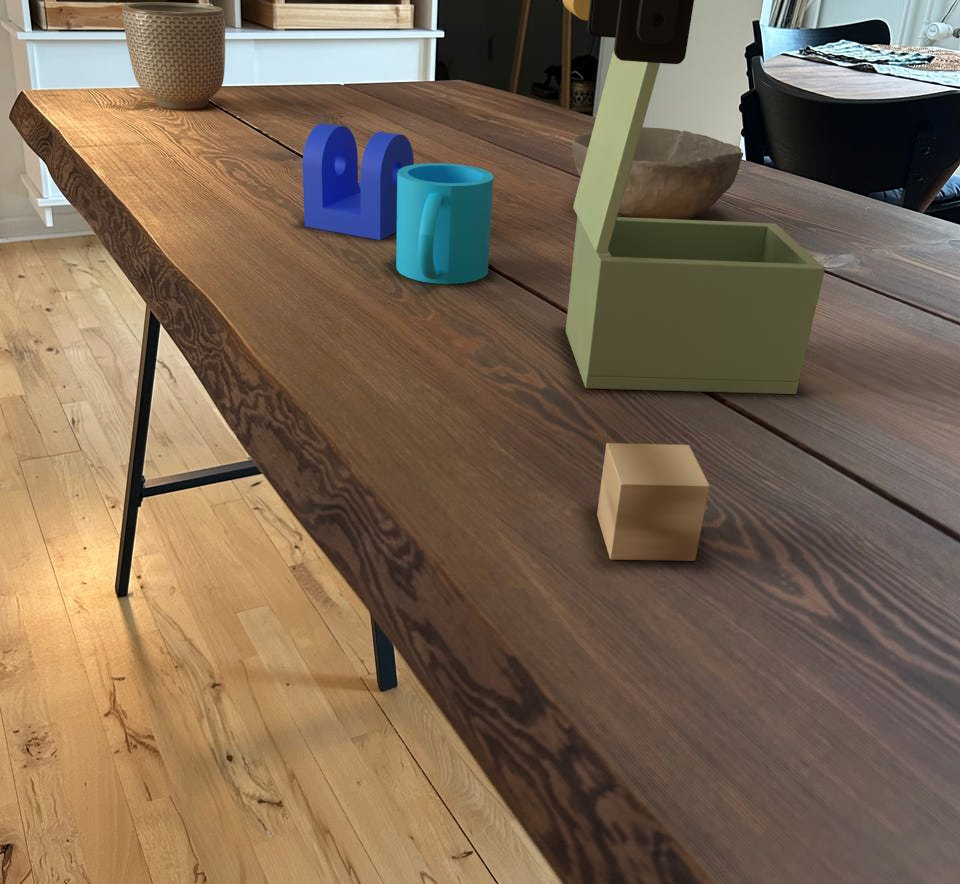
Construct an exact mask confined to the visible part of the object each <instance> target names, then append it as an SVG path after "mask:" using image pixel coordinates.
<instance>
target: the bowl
mask: <svg viewBox="0 0 960 884" xmlns="http://www.w3.org/2000/svg"><path fill="white" fill-rule="evenodd" d="M592 132H593V131H588V132H584V133H581V134H579V135H575V137H573V138H572V140H571V151H572V156H573V162H574V164H575V168H576V170H577V173H578V175H579V176H580V177H581V174H582V171H583V167H584V163H585V159H586V155H587V151H588V147H589V143H590V139H591V136H592ZM743 157H744V152H743V151H742V148H741V147H740V146H738V145H734V144H731V143H728V142H723V141H721V140H719V139H716V138H713V137H710V136H708V135H704V134H700V133H693V132H691V131H687V130H682V131H681V130H678V129H673V128H671V129H670V128H661V127H647V126H645V127H644V126H642V130H641V134H640V137H639V141H638V144H637V148H636V151H635V155H634V159H633V162H632V166H631V169H630V173H629V176H628V180H627V184H626V187H625V191H624V194H623V198H622V201H621V205H620V209H619V212H618V215H621V216H623V217H627V218H652V219H677V220H693V218H696V217H698V216H700V215H701V214H704V213H705V212H706V211H708V210H709V209H710V208H711V207H712V206H714V205H715V203H717V202H718V201H719V199H720V198H721V197H722V196H723V195H724V194H725V193H726V192H727V191H728V190H729V189H730V188H731V187H732V186H733V185H734V183H735V180H736V178H737V175H738V172H739V170H740V166H741V162H742V159H743Z"/></svg>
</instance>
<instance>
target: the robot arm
mask: <svg viewBox="0 0 960 884" xmlns="http://www.w3.org/2000/svg"><path fill="white" fill-rule="evenodd" d="M694 3H695V0H590V8H589V17H588V20H587V32H588V34H589V35H591V36H592V37H596V38H611V39H612V38H613V39H614V46H613V50H614V54H615V56H616V57H617V58H618V59H620V60H622V61H635V62H649V63H660V64H665V65H680V64H681V63H682V62H684V60H685V59H686V56H687V55H686V54H687V49H688V43H689V37H690V29H691V23H692V18H693V17H692V16H693V10H694Z"/></svg>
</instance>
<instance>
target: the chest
mask: <svg viewBox="0 0 960 884" xmlns="http://www.w3.org/2000/svg"><path fill="white" fill-rule="evenodd" d="M576 217H577V218H576V226H575V227H576V228H575V237H574V246H573V256H572V263H571V264H572V266H571V275H570V284H569V295H568V303H567V315H566V321H565V322H566V324H565V333H566V336H567V339H568V342H569V345H570V348H571V351H572V354H573V356H574V359H575V362H576V365H577V368H578V370H579V374H580V377H581V380H582V382H583V385H584V388H585V389H591V390H593V389H598V390H599V389H600V390H628V391H629V390H632V391H633V390H634V391H665V392H666V391H667V392H669V391H670V392H700V393H701V392H703V393H704V392H705V393H738V394H739V393H741V394H773V395H775V394H778V395H780V394H781V395H797V392H798V388H799V383H800V378H801V374H802V369H803V365H804V361H805V358H806V357H805V356H806V352H807V348H808V343H809V339H810V335H811V330H812V327H813V322H814V318H815V313H816V311H817V310H816V309H817V305H818V301H819V296H820V291H821V287H822V285H823V284H822V283H823V279H824V275H825V270H826V269H825V266H823V265H822V264H821V263H820V262H819V261H818V260H817V259H815V258H814V257H813V256H812V255H811V254H810V253H809V252H808V251H807V250H806V249H804V248H803V247H802V246H801V245H800V244H799V243H798V241H796V240H795V239H793V238H792V237H791V235H789V234H788V233H787V232H786V231H785V230H784V229H783V228H782V227H781V226H779V225H777V223H774V222H772V223H771V222H749V221H748V222H746V221H722V220H699V219H687V220H677V219H652V218H628V217H625V216H623V217H622V216H617V219H616V223H615V227H614V230H613V234H612V237H611V241H610V244H609V248H608V252H607V253H606V254H605V253H600V252H596V251H595V249H594V247H593V246H592V244H591V242H590V240H589V238H588V236H587V234H586V232H585V230H584V228H583V226H582V224H581V222H580V220H579V218H578V216H577V215H576Z"/></svg>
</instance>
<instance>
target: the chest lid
mask: <svg viewBox="0 0 960 884" xmlns="http://www.w3.org/2000/svg"><path fill="white" fill-rule="evenodd" d="M562 3H563V6H564V7H565V8H566V10H568V11H569V12H570V13H572V14H573V15H574V16H576V17H577V18H579V19H580V20H582V21H588V17H589V8H590V0H562ZM660 66H661V63H649V62H635V61H622V60H620V59H618V58H617V57H616V56H615V54H614V49H613V50H612V53H611V58H610V62H609V66H608V70H607V74H606V77H605V81H604V85H603V89H602V93H601V96H600V102H599V104H598V109H597V113H596V116H595V121H594V125H593V128H592V131H591V132H592V136H591V139H590V143H589V147H588V151H587V155H586V159H585V163H584V167H583V171H582V174H581V176H580V179H579V183H578V187H577V191H576V194H575V197H574V202H573V207H572V208H573V210H574V212H575V214H576V217H577V216H578V218H579V220H580V222H581V224H582V226H583V228H584V230H585V232H586V234H587V236H588V238H589V240H590V242H591V244H592V246H593V247H594V249H595V251H596V252H600V253H605V254H606V253H607V252H608V248H609V244H610V241H611V237H612V234H613V230H614V227H615V223H616V219H617V217H619V214H618V212H619V209H620V205H621V201H622V198H623V194H624V191H625V187H626V184H627V180H628V176H629V173H630V169H631V166H632V162H633V159H634V155H635V151H636V148H637V144H638V141H639V137H640V134H641V130H642V127H644V123H645V118H646V116H647V112H648V109H649V104H650V102H651V98H652V94H653V90H654V87H655V83H656V79H657V76H658V73H659V69H660Z"/></svg>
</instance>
